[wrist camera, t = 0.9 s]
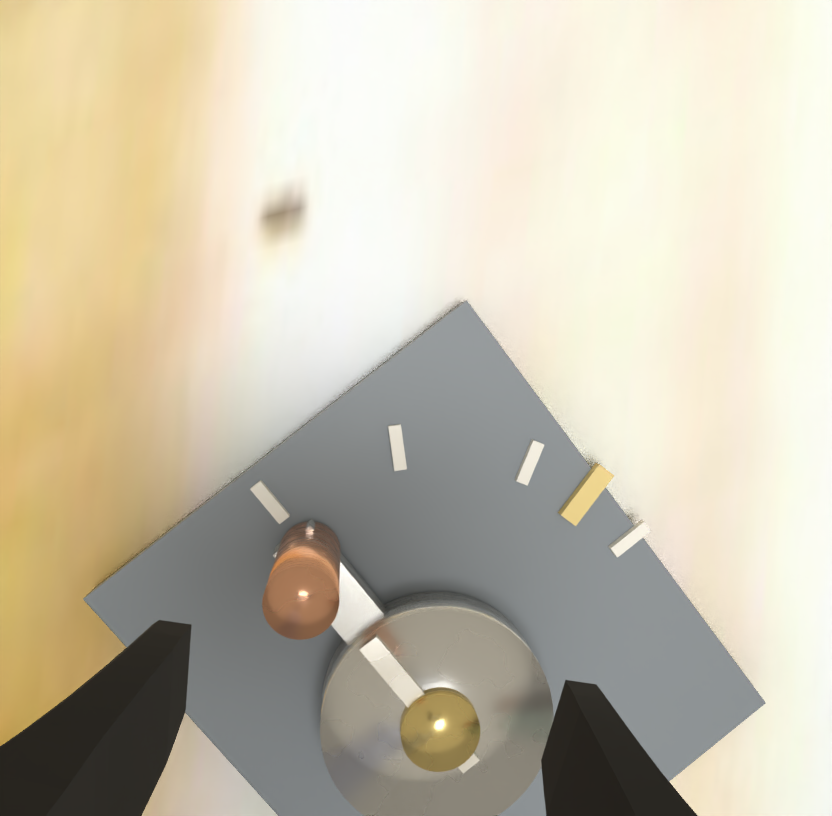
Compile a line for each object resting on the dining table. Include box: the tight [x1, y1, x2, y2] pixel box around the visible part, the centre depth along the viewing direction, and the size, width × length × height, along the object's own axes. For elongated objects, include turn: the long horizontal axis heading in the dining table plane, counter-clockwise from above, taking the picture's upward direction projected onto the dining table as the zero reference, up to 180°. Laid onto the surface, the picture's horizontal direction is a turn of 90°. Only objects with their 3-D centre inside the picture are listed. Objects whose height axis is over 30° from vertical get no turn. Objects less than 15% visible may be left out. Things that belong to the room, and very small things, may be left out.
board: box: [84, 301, 765, 816], centre depth 29 cm, size 20×22×2 cm
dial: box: [262, 518, 553, 816], centre depth 25 cm, size 14×9×6 cm, turn 38°
